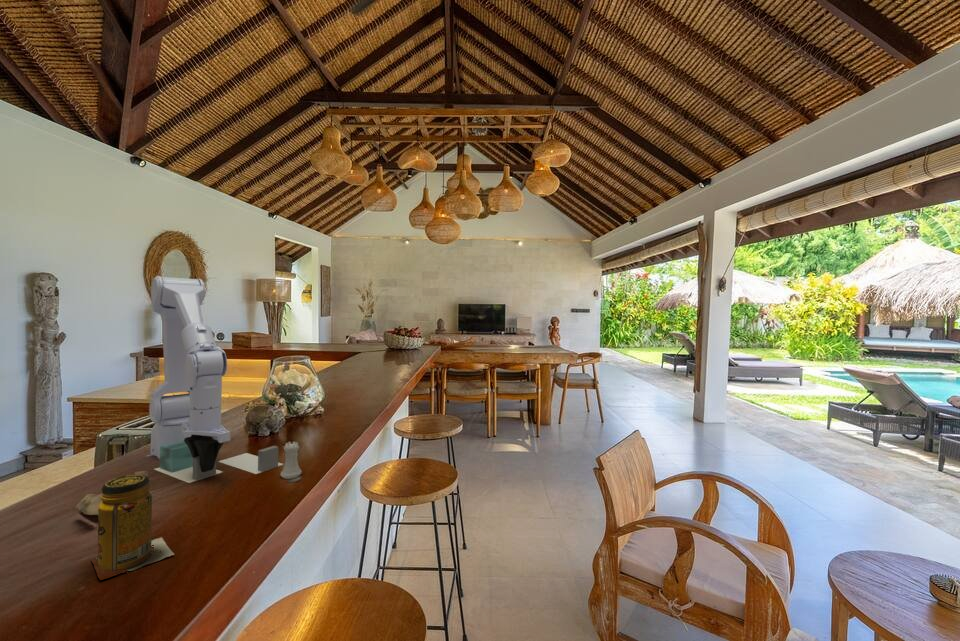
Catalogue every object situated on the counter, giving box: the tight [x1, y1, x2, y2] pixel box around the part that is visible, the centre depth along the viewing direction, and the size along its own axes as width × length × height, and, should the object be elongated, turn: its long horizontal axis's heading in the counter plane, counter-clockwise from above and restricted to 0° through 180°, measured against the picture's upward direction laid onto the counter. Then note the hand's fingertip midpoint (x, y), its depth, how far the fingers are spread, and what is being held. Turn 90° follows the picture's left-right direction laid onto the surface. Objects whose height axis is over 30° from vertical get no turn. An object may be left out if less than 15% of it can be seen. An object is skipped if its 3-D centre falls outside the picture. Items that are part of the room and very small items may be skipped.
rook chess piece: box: [280, 441, 303, 484], centre depth 92 cm, size 4×4×8 cm
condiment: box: [97, 474, 175, 572], centre depth 62 cm, size 7×8×12 cm
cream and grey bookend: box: [218, 445, 284, 475], centre depth 98 cm, size 14×7×5 cm, turn 62°
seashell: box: [75, 470, 149, 517], centre depth 77 cm, size 8×17×5 cm, turn 29°
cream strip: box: [153, 456, 223, 484], centre depth 93 cm, size 14×7×5 cm, turn 62°
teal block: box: [159, 440, 193, 473], centre depth 94 cm, size 5×5×5 cm
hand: (204, 469), depth 90 cm, fingers closed on cream strip
